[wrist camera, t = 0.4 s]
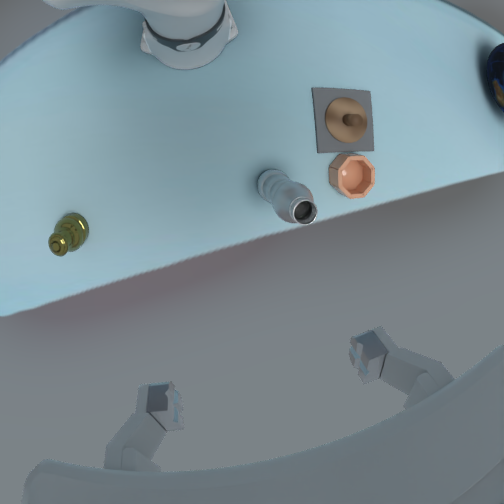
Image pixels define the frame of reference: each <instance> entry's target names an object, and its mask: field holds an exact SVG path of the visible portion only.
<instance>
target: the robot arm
mask: <svg viewBox="0 0 504 504" xmlns="http://www.w3.org/2000/svg"><path fill="white" fill-rule="evenodd" d="M42 1H43V2H45V3H46V4H48V5H49V6H52V7H54V8H57V9H61V10H66V9H71V8H76V7H82V6H91V5H109V6H117V7H123V8H127V9H131V10H135V11H138V12H140V13H141V14H142V15H143V16H144V17H145V21H144V22H143V28H144V29H143V34H142V40H141V46H140V47H141V50H142V51H143V52H145V53H148V54H151V55H154V56H155V57H156V58H157V59H158V60H159V61H160V62H162V63H163V64H165V65H167V66H169V67H171V68H175V69H183V70H186V69H194V68H198V67H201V66H204V65H206V64H208V63H210V62H211V61H213V60H214V59H215V58H216V57H217V56H218V55H219V54H220V53H221V52H222V50H223V48H224V47H225V45H226V44H227V43H228V42H230V41H232V40H233V39H234V38H236V37H237V35H238V29H237V27H236V24H235V22H234V19H233V17H232V14H231V12H230V9H229V7H228V4H227V2H226V0H42ZM231 27H232V29H231ZM350 343H351V345H352V347H351V348H350V349H349V356H350V360H351V363H352V365H353V366H354V368H357V369H359V371H358V375H359V377H360V378H361V380H362V382H363V384H366V383H369V382H371V381H374V380H376V379H379V378H380V379H381V380H383V381H384V382H386V383H388V384H389V385H391V386H393V387H395V388H396V389H398V390H400V391H402V392H404V393H405V394H407V395H409V396H408V398H407V400H406V402H405V404H404V408H405V409H406V410H404V411H402V412H400V413H398V414H396V415H394V416H392V417H390V418H388V419H386V420H384V421H382V422H380V423H377V424H375V425H373V426H371V427H368V428H366V429H364V430H361V431H359V432H356V433H354V434H351V435H349V436H346V437H344V438H341V439H338V440H336V441H333V442H330V443H327V444H324V445H321V446H318V447H315V448H311V449H308V450H305V451H301V452H298V453H294V454H290V455H286V456H282V457H278V458H274V459H269V460H265V461H260V462H255V463H250V464H244V465H238V466H232V467H224V468H215V469H207V470H194V471H177V472H176V471H175V472H161V468H160V467H159V466H158V465H156V464H155V463H154V462H152V461H151V459H152V458H153V456H154V454H155V452H156V451H157V449H158V447H159V445H160V444H161V442H162V440H163V438H164V436H165V435H166V433H167V432H166V431H174V430H183V429H184V425H183V424H184V422H183V416H182V415H181V414H180V413H181V412H182V411H183V401H182V397H181V395H180V393H179V392H178V391H176V390H175V389H174V388H175V386H174V384H173V383H172V382H162V383H151V384H142V385H140V386H139V388H138V396H137V404H136V411H135V414H132V415H131V416H130V418H129V419H128V420H127V421H126V422H125V424H124V425H123V426H122V427H121V428H120V430H119V431H118V432H117V433H116V435H115V436H114V437H113V438H112V440H111V441H110V442H109V443H108V444H107V446H106V452H105V460H104V469H101V468H95V467H87V466H80V465H76V464H70V463H65V462H61V461H56V460H52V459H44V460H43V461H41V462H40V463H39V464H38V465H37V466H36V467H35V468H34V469H33V470H32V471H31V472H30V473H29V474H28V476H27V478H26V481H25V484H24V488H23V494H22V499H21V504H504V345H500V346H498V347H497V348H495V349H494V350H493V351H492V352H491V353H489V354H488V355H487V356H486V357H485V358H483V359H482V360H481V361H480V362H478V363H477V364H476V365H474V366H473V367H472V368H471V369H469V370H468V371H466V372H465V373H464V374H462V375H461V376H459V377H458V378H457V379H454V378H453V377H452V375H451V374H450V373H449V372H448V370H447V369H446V368H445V367H444V365H443V364H442V363H441V362H439V361H436V360H434V359H431V358H428V357H426V356H423V355H421V354H418V353H415V352H412V351H410V350H408V349H405V348H402V347H401V348H398V346H397V345H396V344H395V343H394V341H393V340H392V339H391V337H390V336H389V335H388V334H387V332H386V331H385V330H384V329H383V327H381V326H379V327H377V328H374V329H372V330H368V331H366V332H363V333H361V334H358V335H355V336H353V337H351V340H350Z"/></svg>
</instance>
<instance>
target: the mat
mask: <svg viewBox="0 0 504 504" xmlns="http://www.w3.org/2000/svg"><path fill="white" fill-rule="evenodd" d="M312 96H313V106H314V116H315V128H316V141H317V153H328V152H353V151H374V136H373V118H372V105H371V94H370V91H363V90H351V89H336V88H312ZM343 97H347V98H351V99H354V100H355V101H357V102H358V103H359V104H360V105H361V106H362V107H363V109H364V111H365V113H366V116H367V129H366V132H365V133H364V135H363V136H362V137H361V138H360V139H359V140H358V141H356V142H352V143H345V142H341V141H338V140H337V139H335V138H334V137H333V136H332V135H331V134H330V133H329V131H328V129H327V127H326V124H325V112H326V109H327V107H328V105H329V104H330V103H331V102H332V101H334V100H335V99H338V98H343Z"/></svg>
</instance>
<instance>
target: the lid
mask: <svg viewBox="0 0 504 504" xmlns="http://www.w3.org/2000/svg"><path fill="white" fill-rule="evenodd" d="M325 124H326V127H327V129H328V131H329V133H330V134H331V135H332V136H333V137H334V138H335V139H337V140H338V141H341V142H345V143H352V142H356V141H358V140H359V139H360V138H361V137H362V136H363V135H364V133H365V132H366V129H367V116H366V113H365V111H364V109H363V107H362V106H361V105H360V104H359V103H358V102H357V101H355V100H354V99H351V98H347V97H343V98H338V99H335V100H334V101H332V102H331V103H330V104H329V105H328V107H327V109H326V112H325Z"/></svg>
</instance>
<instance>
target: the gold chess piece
mask: <svg viewBox="0 0 504 504" xmlns="http://www.w3.org/2000/svg"><path fill="white" fill-rule="evenodd" d="M88 233H89V229H88V225H87V222H86V221H85V219H84V218H83V217H82V216H80V215H79V214H76V213H71V214H68V215H67V216H65V217H64V218H62V219H61V220H60V221H58V222H57V224H56V226H55V228H54V233H53V234H51V236H50V237H49V240H48V244H49V248H50V250H51V251H52V253H53V254H55V255H56V256H64V255H65V254H66V253H67V252H73V251H76V250H77V249H79V247H80V246H81V245H82V244H83V243H84V241H85V240H86V239H87V237H88Z"/></svg>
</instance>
